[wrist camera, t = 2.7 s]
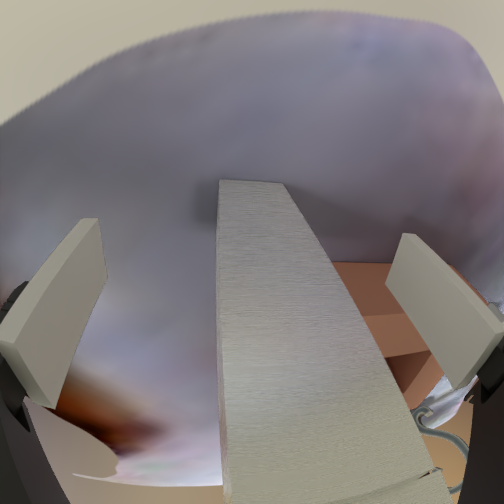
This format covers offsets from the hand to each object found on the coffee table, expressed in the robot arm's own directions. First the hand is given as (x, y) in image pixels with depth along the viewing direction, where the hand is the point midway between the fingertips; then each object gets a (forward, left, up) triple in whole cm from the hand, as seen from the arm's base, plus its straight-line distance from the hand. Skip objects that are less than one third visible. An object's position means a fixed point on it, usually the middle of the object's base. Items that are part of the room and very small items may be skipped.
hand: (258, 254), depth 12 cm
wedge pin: (0, 0, -5) cm, 5 cm away
